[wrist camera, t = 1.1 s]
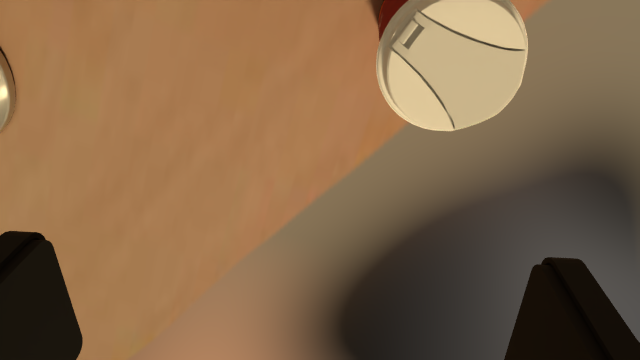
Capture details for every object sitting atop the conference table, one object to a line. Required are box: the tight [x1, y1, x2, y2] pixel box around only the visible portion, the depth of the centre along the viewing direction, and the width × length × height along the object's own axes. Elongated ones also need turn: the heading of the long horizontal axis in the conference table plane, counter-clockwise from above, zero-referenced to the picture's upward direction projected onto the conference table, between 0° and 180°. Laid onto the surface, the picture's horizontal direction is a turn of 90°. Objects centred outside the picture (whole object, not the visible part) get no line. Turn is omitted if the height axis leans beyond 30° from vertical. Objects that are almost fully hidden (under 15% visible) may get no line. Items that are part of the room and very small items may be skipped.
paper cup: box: [376, 0, 528, 131], centre depth 29 cm, size 8×8×14 cm
